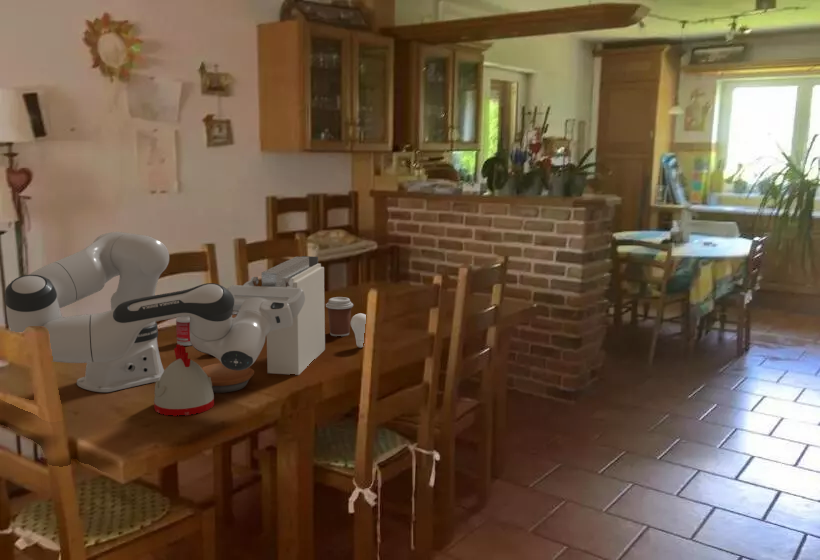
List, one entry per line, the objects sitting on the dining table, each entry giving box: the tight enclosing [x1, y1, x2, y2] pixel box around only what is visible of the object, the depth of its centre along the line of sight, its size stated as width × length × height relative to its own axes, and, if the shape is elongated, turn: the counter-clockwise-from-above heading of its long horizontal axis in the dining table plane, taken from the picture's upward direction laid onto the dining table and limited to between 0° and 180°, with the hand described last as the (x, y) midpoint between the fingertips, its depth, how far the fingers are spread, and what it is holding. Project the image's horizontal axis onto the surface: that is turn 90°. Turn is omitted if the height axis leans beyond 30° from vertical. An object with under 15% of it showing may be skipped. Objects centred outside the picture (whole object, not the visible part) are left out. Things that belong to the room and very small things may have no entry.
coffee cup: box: [325, 296, 354, 337], centre depth 247 cm, size 9×9×12 cm
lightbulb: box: [350, 312, 367, 349], centre depth 231 cm, size 6×6×11 cm
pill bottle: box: [175, 316, 192, 347], centre depth 233 cm, size 6×6×11 cm
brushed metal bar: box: [261, 256, 309, 287], centre depth 204 cm, size 28×4×4 cm, turn 170°
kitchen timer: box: [153, 344, 215, 417], centre depth 178 cm, size 14×14×15 cm
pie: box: [201, 362, 255, 394], centre depth 194 cm, size 15×16×5 cm
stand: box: [266, 255, 326, 376], centre depth 215 cm, size 27×9×29 cm, turn 170°
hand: (272, 279), depth 193 cm, fingers open, 8 cm apart
